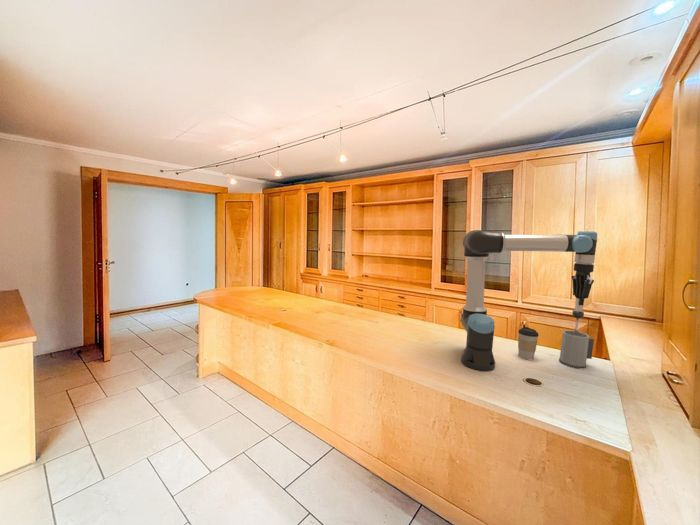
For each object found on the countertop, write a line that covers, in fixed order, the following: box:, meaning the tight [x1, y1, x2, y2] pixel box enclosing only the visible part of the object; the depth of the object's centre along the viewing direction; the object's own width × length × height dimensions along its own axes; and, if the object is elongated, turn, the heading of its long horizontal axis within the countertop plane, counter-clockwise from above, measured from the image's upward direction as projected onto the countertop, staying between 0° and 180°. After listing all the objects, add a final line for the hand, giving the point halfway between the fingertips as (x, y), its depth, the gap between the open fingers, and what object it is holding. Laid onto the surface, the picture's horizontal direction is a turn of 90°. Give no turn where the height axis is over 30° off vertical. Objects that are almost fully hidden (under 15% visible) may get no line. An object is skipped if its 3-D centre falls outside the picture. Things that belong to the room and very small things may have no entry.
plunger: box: [571, 310, 585, 336], centre depth 146 cm, size 7×7×15 cm
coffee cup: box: [517, 326, 539, 360], centre depth 154 cm, size 9×9×15 cm
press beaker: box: [558, 329, 595, 369], centre depth 147 cm, size 13×11×15 cm
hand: (578, 311), depth 145 cm, fingers closed
